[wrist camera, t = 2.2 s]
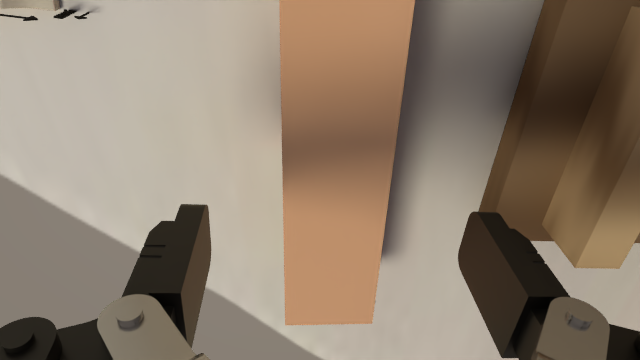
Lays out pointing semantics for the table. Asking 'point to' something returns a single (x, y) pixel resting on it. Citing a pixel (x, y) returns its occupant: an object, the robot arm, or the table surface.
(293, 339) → the table surface
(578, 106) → the cleated wooden board
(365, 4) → the clay bar
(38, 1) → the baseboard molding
